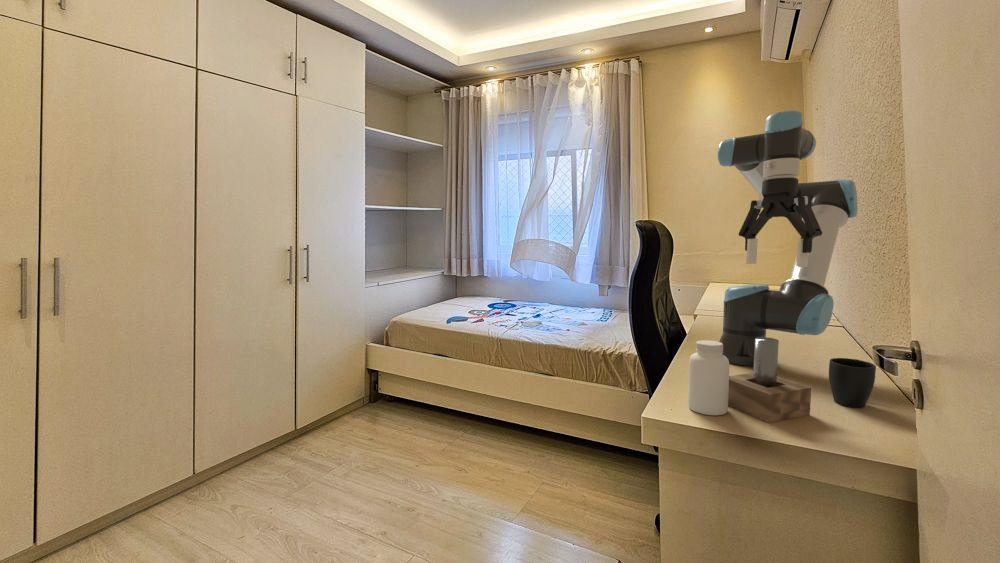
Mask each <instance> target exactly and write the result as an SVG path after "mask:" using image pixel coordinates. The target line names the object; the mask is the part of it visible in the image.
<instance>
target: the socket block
mask: <svg viewBox="0 0 1000 563" xmlns="http://www.w3.org/2000/svg"><path fill="white" fill-rule="evenodd" d="M753 373H754V372H749V373H748V372H747V373H741V374H734V375H729V391H728V407H730V408H733V409H734V410H737V411H739V412H741V413H744V414H746V415H749V416H751V417H754V418H756V419H758V420H760V421H763V422H765V423H767V424H771V423H775V422H780V421H786V420H791V419H795V418H796V419H797V418H800V417H806V416H810V414H811V401H812V387H811V386H807V385H805V384H801V383H798V382H796V381H792V380H789V379H787V378H784V377H779V376H777V382H776V386H775V387H769V388H767V387H764V386H761V385H758V384H755V383H753Z"/></svg>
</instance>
